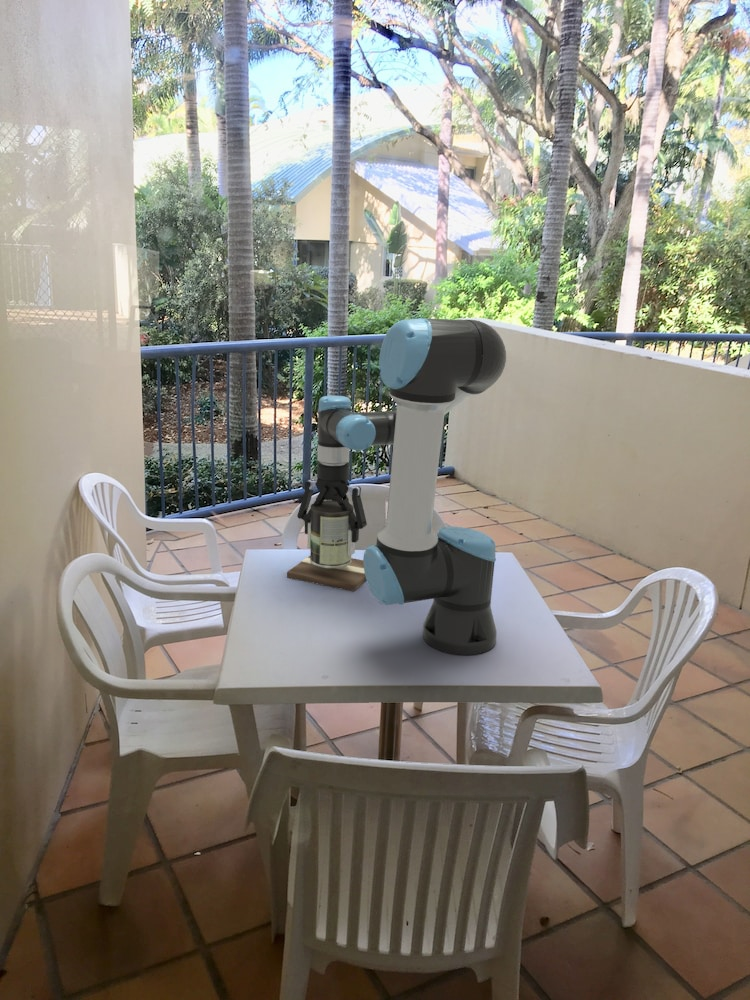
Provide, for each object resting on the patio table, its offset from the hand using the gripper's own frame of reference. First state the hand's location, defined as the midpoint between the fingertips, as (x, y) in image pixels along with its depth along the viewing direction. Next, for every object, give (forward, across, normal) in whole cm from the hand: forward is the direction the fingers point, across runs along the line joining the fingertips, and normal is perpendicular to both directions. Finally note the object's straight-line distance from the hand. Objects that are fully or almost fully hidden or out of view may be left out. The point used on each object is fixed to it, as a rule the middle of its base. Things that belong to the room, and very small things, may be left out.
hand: (330, 550), depth 182 cm
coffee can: (+3, 0, 0) cm, 3 cm away
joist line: (+5, 0, -3) cm, 6 cm away
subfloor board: (+7, 0, -2) cm, 7 cm away
